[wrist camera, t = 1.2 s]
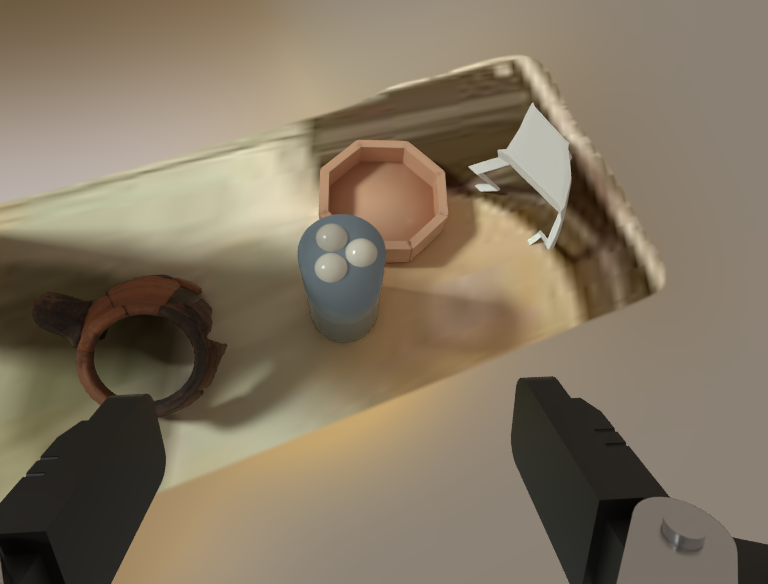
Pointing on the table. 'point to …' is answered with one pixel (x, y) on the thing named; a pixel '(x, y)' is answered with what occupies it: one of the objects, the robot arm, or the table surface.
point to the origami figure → (536, 166)
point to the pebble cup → (342, 275)
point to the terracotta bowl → (387, 193)
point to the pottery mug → (128, 299)
